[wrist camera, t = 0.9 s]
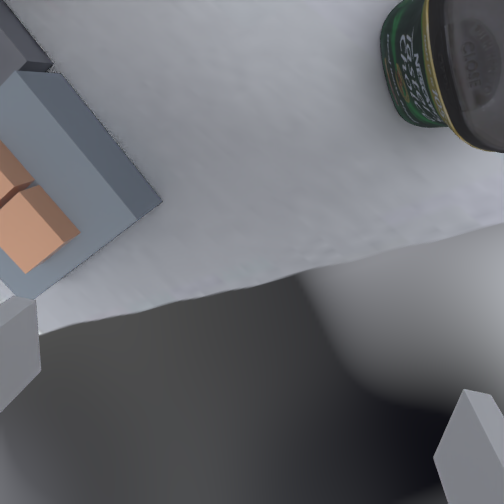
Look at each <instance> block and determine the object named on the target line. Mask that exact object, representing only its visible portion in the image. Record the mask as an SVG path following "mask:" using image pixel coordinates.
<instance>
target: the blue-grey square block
mask: <svg viewBox="0 0 504 504" xmlns="http://www.w3.org/2000/svg"><path fill="white" fill-rule="evenodd" d="M0 140H1V141H2V142H3V143H4V145H5V146H6V147H7V148H8V149H9V150H10V151H11V153H12V154H13V155H14V156H15V157H16V158H17V160H18V161H19V162H20V163H21V164H22V165H23V166H24V168H25V169H26V170H27V171H28V172H29V173H30V175H31V176H32V177H33V178H34V179H35V180H34V181H33V182H32V183H31V184H30V185H29V186H28V187H27V188H26V189H29V188H32V187H34V186H37V185H40V186H41V187H42V188H43V190H44V191H45V192H46V193H47V194H48V195H49V196H50V198H51V199H52V200H53V201H54V202H55V203H56V205H57V206H58V207H59V208H60V209H61V210H62V211H63V213H64V214H65V215H66V216H67V217H68V218H69V220H70V221H71V222H72V223H73V224H74V225H75V226H76V228H77V229H78V230H79V231H80V232H81V233H80V234H79V235H77V236H76V237H75V238H74V239H72V240H71V241H70V242H69V243H67V244H66V245H65V246H64V247H62V248H61V249H60V250H59V251H57V252H56V253H55V254H54V255H52V256H51V257H50V258H49V259H47V260H46V261H45V262H44V263H42V264H40V265H39V266H37V267H36V268H34V269H33V270H31V271H29V272H28V273H26V274H25V273H24V272H23V271H22V270H21V269H20V267H19V266H18V265H17V264H16V263H15V262H14V261H13V260H12V259H11V258H10V257H9V256H8V255H7V254H6V252H5V251H4V250H3V249H2V248H1V247H0V279H1V280H2V281H3V283H4V284H5V285H6V286H7V287H8V288H9V289H10V290H11V291H12V292H13V293H14V294H15V295H16V296H17V297H22V298H27V299H32V300H34V299H35V298H36V297H38V296H39V295H40V294H42V293H43V292H44V291H46V290H47V289H48V288H50V287H51V286H52V285H54V284H55V283H56V282H58V281H59V280H60V279H62V278H63V277H64V276H66V275H67V274H68V273H70V272H71V271H72V270H73V269H75V268H76V267H77V266H79V265H80V264H81V263H83V262H84V261H85V260H87V259H88V258H89V257H90V256H92V255H93V254H94V253H96V252H97V251H98V250H100V249H101V248H102V247H104V246H105V245H106V244H107V243H109V242H110V241H111V240H113V239H114V238H115V237H117V236H118V235H119V234H121V233H122V232H123V231H124V230H126V229H127V228H128V227H130V226H131V225H132V224H134V223H135V222H136V221H138V220H139V219H140V218H141V217H143V216H144V215H145V214H147V213H148V212H149V211H151V210H152V209H153V208H155V207H156V206H157V205H158V204H160V203H161V202H162V200H161V199H160V197H159V196H158V195H157V194H156V192H155V191H154V190H153V189H152V187H151V186H150V185H149V184H148V182H147V181H146V180H145V178H144V177H143V176H142V175H141V173H140V172H139V171H138V170H137V168H136V167H135V166H134V165H133V163H132V162H131V161H130V160H129V158H128V157H127V156H126V155H125V153H124V152H123V151H122V150H121V148H120V147H119V146H118V144H117V143H116V142H115V141H114V139H113V138H112V137H111V136H110V134H109V133H108V132H107V131H106V129H105V128H104V127H103V126H102V124H101V123H100V122H99V121H98V119H97V118H96V117H95V116H94V114H93V113H92V112H91V110H90V109H89V108H88V107H87V105H86V104H85V103H84V102H83V100H82V99H81V98H80V97H79V95H78V94H77V93H76V92H75V90H74V89H73V88H72V87H71V85H70V84H69V83H68V82H67V80H66V79H65V78H64V77H63V75H62V74H60V73H45V72H31V71H16V70H15V71H14V72H13V73H12V74H11V75H10V77H9V78H8V79H7V80H6V81H5V82H4V83H3V84H2V85H1V86H0ZM26 189H25V190H26Z"/></svg>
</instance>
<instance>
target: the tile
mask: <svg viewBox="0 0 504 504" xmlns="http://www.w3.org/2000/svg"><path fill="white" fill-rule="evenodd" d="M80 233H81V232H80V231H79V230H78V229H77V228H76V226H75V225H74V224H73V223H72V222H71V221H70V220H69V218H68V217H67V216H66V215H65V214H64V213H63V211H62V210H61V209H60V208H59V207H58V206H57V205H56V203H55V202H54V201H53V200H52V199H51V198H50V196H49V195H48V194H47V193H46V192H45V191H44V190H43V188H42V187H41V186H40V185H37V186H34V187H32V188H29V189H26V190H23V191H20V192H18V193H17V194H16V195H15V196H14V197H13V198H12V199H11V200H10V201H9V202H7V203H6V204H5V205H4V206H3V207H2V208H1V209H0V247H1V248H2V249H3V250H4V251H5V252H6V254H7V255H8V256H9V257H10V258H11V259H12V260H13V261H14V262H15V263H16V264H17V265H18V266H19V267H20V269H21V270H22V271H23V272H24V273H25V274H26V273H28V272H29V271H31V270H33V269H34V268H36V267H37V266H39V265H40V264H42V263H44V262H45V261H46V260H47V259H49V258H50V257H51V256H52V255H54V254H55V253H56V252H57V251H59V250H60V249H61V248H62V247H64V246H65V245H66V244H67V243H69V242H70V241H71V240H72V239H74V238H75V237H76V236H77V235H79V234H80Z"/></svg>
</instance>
